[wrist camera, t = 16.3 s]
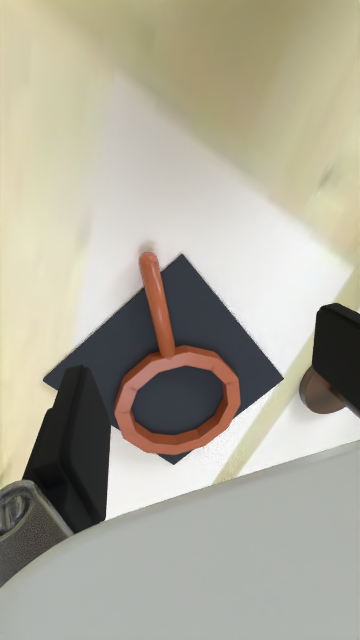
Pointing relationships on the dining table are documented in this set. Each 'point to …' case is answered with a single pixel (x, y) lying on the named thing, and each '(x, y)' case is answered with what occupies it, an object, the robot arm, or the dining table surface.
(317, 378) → the coat peg
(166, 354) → the orange ring with handle
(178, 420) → the mat
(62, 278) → the dining table surface
